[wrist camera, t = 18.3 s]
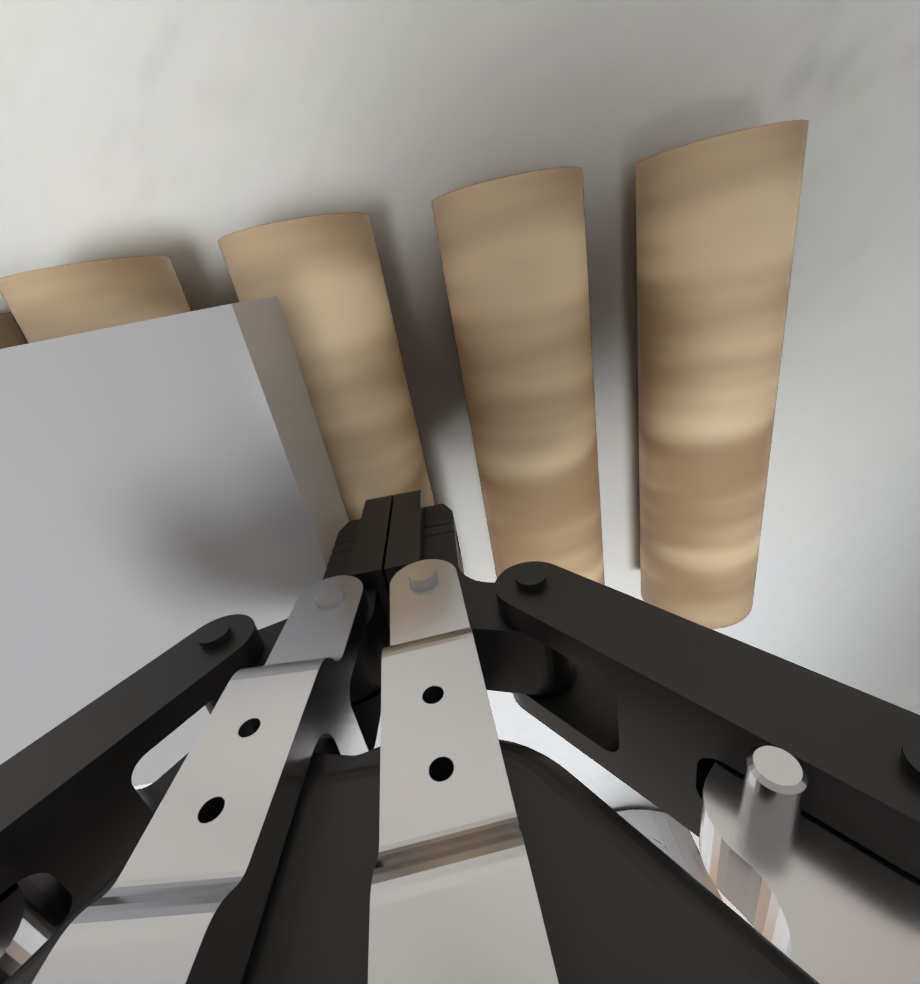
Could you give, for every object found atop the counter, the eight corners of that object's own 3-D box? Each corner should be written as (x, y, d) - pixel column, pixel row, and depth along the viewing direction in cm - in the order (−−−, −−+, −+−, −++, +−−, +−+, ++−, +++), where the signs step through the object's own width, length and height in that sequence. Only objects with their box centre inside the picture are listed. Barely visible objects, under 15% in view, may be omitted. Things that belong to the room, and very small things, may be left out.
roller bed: (715, 557, 21) (777, 617, 17) (56, 682, 21) (-20, 767, 17) (743, 148, 14) (852, 108, 11) (-206, 336, 15) (-412, 358, 11)
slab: (394, 661, 16) (388, 738, 14) (-52, 745, 17) (-144, 838, 14) (277, 295, 11) (231, 303, 9) (-366, 422, 12) (-609, 468, 9)
